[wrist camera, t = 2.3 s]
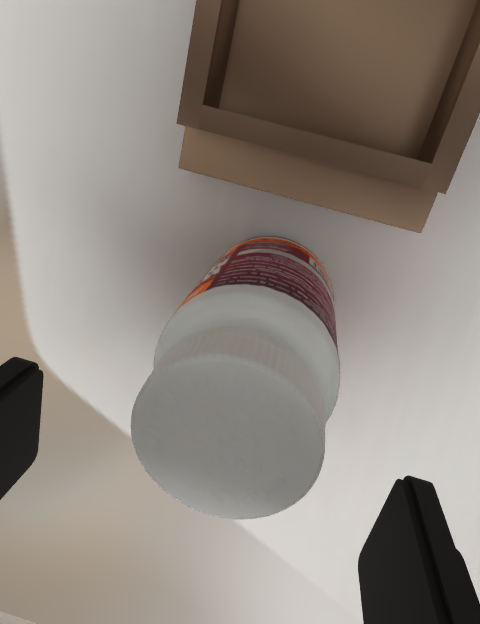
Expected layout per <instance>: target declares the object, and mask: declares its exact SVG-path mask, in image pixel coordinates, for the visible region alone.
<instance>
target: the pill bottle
mask: <svg viewBox="0 0 480 624" xmlns="http://www.w3.org/2000/svg"><path fill="white" fill-rule="evenodd" d="M339 385H340V362H339V355H338V348H337V336H336V322H335V304H334V293H333V287H332V283H331V280H330V278H329V275H328V273H327V271H326V269H325V268H324V266H323V265H322V263H321V262H320V261H319V260H318V258H317V257H315V256H314V255H313V254H312V253H311V252H310V251H309V250H307V249H306V248H304V247H303V246H301V245H299V244H297V243H295V242H293V241H290V240H287V239H283V238H277V237H259V238H253V239H250V240H247V241H244V242H242V243H240V244H238V245H236V246H234V247H233V248H231V249H230V250H228V251H227V252H226V253H225V254H224V255H223V256H222V257H221V258H220V259H219V260H218V261H217V262H216V264H215V265H214V266H213V267H212V268H211V269H210V270H209V271H208V273H207V274H206V275H205V276H204V278H203V279H202V280H201V281H200V282H199V284H198V285H197V286H196V287H195V289H194V290H193V291H192V292H191V293H190V294H189V296H188V297H187V298H186V299H185V301H184V302H183V303H182V305H181V306H180V307H179V308H178V310H177V311H176V312H175V314H174V315H173V316H172V317H171V319H170V320H169V322H168V323H167V325H166V326H165V328H164V330H163V332H162V334H161V336H160V338H159V341H158V344H157V347H156V351H155V357H154V370H153V371H152V373H151V375H150V376H149V378H148V379H147V381H146V382H145V384H144V385H143V387H142V389H141V390H140V392H139V394H138V396H137V398H136V401H135V404H134V407H133V411H132V417H131V436H132V441H133V444H134V448H135V451H136V454H137V456H138V458H139V460H140V462H141V464H142V465H143V467H144V468H145V470H146V472H147V473H148V474H149V475H150V477H151V478H152V479H153V480H154V481H155V482H156V483H157V484H158V485H159V486H160V487H161V488H162V489H163V490H164V491H165V492H166V493H168V494H169V495H170V496H172V497H173V498H174V499H176V500H178V501H179V502H181V503H183V504H184V505H186V506H188V507H190V508H193V509H195V510H197V511H200V512H202V513H205V514H209V515H212V516H217V517H222V518H229V519H254V518H260V517H265V516H269V515H272V514H275V513H278V512H280V511H282V510H284V509H287V508H288V507H290V506H292V505H293V504H295V503H296V502H297V501H299V500H300V499H301V498H302V497H303V496H305V495H306V493H307V492H308V491H309V490H310V488H311V487H312V486H313V484H314V483H315V481H316V479H317V477H318V475H319V473H320V470H321V467H322V463H323V459H324V452H325V424H326V422H327V420H328V419H329V417H330V415H331V414H332V411H333V409H334V407H335V404H336V401H337V397H338V392H339Z"/></svg>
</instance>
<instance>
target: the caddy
mask: <svg viewBox="0 0 480 624" xmlns="http://www.w3.org/2000/svg"><path fill="white" fill-rule="evenodd" d="M479 113H480V0H197V1H196V7H195V13H194V19H193V26H192V32H191V38H190V44H189V50H188V57H187V63H186V69H185V75H184V81H183V88H182V94H181V100H180V106H179V112H178V118H177V124H180V125H184V126H186V127H185V133H184V139H183V145H182V151H181V156H180V162H179V168H180V169H184V170H188V171H191V172H195V173H199V174H203V175H206V176H210V177H214V178H217V179H221V180H225V181H229V182H232V183H236V184H240V185H243V186H247V187H251V188H255V189H258V190H262V191H266V192H269V193H273V194H277V195H280V196H284V197H288V198H292V199H295V200H299V201H303V202H306V203H310V204H314V205H318V206H321V207H325V208H329V209H332V210H336V211H340V212H344V213H347V214H351V215H355V216H358V217H362V218H366V219H370V220H373V221H377V222H381V223H384V224H388V225H392V226H395V227H399V228H403V229H407V230H410V231H414V232H418V233H421V232H422V230H423V227H424V225H425V223H426V220H427V218H428V215H429V213H430V210H431V208H432V206H433V203H434V201H435V198H436V196H437V193H438V192H440V193H444V194H446V192H447V190H448V187H449V185H450V182H451V180H452V178H453V175H454V173H455V170H456V168H457V166H458V163H459V161H460V158H461V156H462V154H463V151H464V149H465V147H466V144H467V142H468V139H469V137H470V135H471V132H472V130H473V127H474V125H475V123H476V120H477V118H478V116H479Z"/></svg>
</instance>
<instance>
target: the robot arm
mask: <svg viewBox="0 0 480 624" xmlns="http://www.w3.org/2000/svg"><path fill="white" fill-rule="evenodd" d="M42 388H43V372H42V371H41V370H39V366H38V364H37V363H35V362H32V361H28V360H25V359H22V358H18V357H13V358H11V359H9V360H8V361H7V362H5V363H4V364H2V365H1V366H0V500H1V498H2V497H3V496H4V495H5V494H6V493H7V492H8V491H9V490H10V488H11V487H12V486H13V485H14V484H15V483H16V482H17V480H18V479H19V478H20V477H21V476H22V475H23V474H24V473H25V472H26V470H27V469H28V468H29V467H30V466H31V465H32V463H33V462H34V460H35V458H36V456H37V452H38V443H39V429H40V415H41V402H42ZM358 573H359V582H360V592H361V602H362V611H363V621H364V624H480V603H479V600H478V598H477V595H476V592H475V589H474V586H473V584H472V581H471V578H470V575H469V573H468V570H467V567H466V564H465V562H464V559H463V557H462V555H461V553H460V552H459V551H458V550H457V549H456V548H455V545H454V542H453V539H452V536H451V534H450V531H449V528H448V525H447V522H446V519H445V516H444V514H443V511H442V508H441V505H440V502H439V499H438V496H437V494H436V491H435V488H434V486H433V484H432V483H431V482H428V481H425V480H422V479H418V478H415V477H412V476H406V477H405V478H404V479H403V480H401V479H398V480H396V482H395V484H394V486H393V488H392V490H391V492H390V494H389V496H388V498H387V500H386V502H385V504H384V506H383V508H382V510H381V512H380V514H379V516H378V518H377V520H376V522H375V524H374V526H373V528H372V530H371V532H370V534H369V536H368V538H367V540H366V542H365V544H364V546H363V548H362V551H361V553H360V556H359V561H358ZM0 624H36V623H33V622H30V621H27V620H24V619H21V618H18V617H15V616H12V615H9V614H6V613H3V612H0Z"/></svg>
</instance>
